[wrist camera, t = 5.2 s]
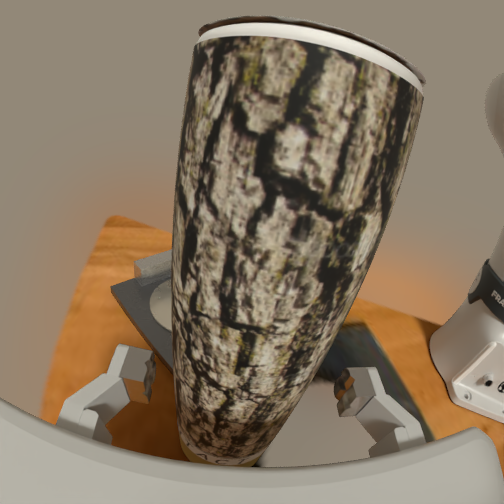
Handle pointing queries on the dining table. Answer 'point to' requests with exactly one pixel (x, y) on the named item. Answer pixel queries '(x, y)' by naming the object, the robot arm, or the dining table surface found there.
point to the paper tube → (276, 216)
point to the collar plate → (150, 303)
